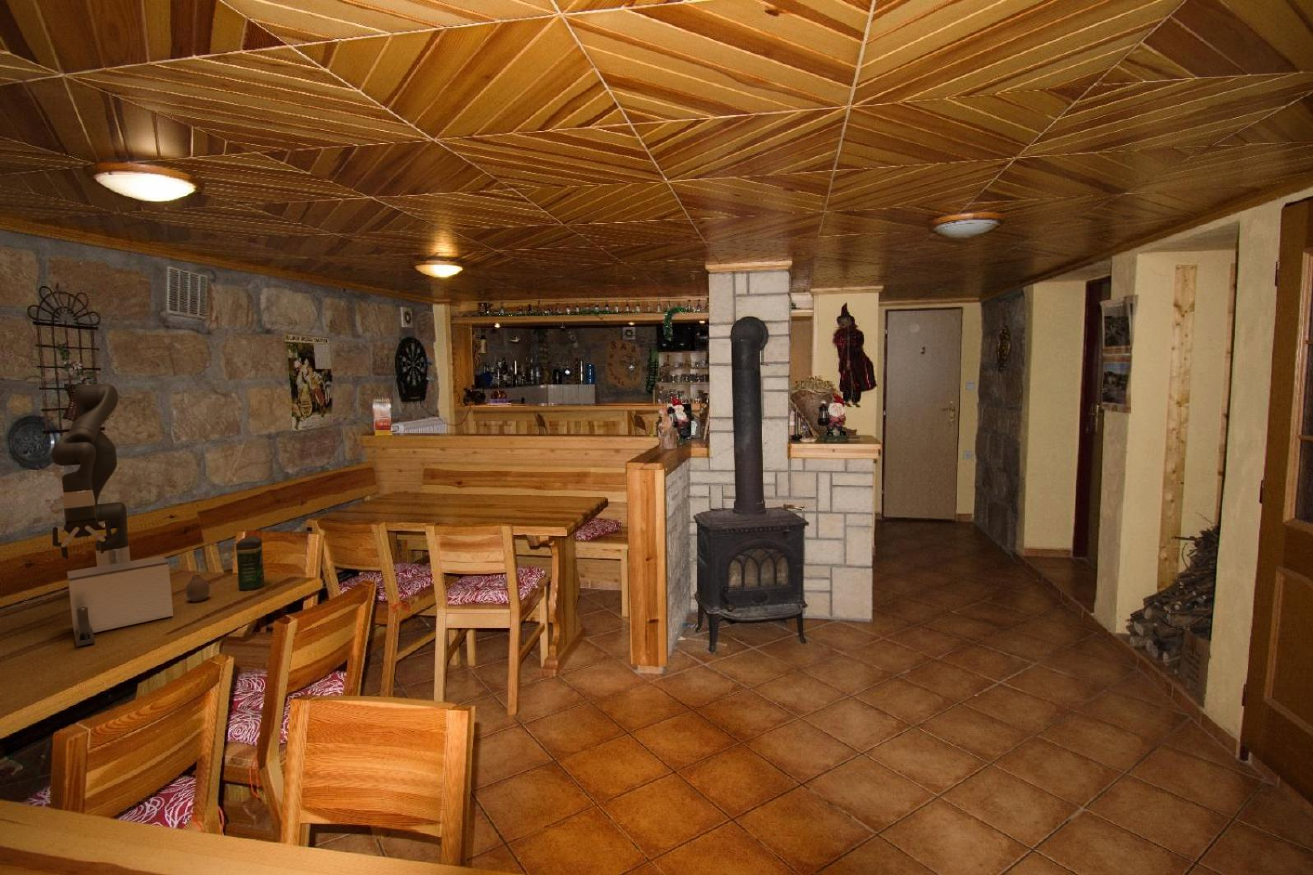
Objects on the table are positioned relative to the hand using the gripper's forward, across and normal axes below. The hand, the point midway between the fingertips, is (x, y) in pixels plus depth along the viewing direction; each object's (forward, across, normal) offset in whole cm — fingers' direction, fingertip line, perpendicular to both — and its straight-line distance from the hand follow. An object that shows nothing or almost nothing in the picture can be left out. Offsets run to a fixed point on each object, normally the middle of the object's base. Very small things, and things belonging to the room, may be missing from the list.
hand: (84, 555), depth 209 cm
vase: (+21, -28, 0) cm, 36 cm away
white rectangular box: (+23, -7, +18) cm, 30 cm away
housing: (+22, -7, +7) cm, 24 cm away
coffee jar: (+21, -46, -2) cm, 50 cm away
